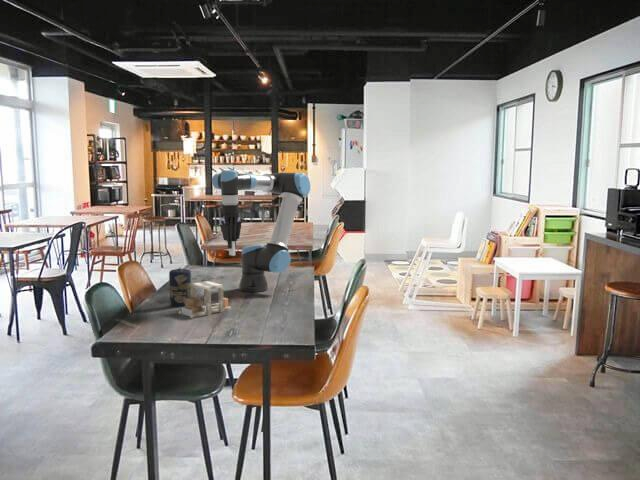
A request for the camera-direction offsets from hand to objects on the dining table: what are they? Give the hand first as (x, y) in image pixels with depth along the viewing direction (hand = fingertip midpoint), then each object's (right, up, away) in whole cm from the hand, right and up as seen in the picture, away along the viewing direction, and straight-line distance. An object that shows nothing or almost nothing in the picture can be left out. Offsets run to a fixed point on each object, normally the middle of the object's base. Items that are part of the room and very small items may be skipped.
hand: (232, 255), depth 263 cm
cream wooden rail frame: (-7, -25, -13) cm, 29 cm away
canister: (-23, -24, -2) cm, 33 cm away
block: (-13, -23, -20) cm, 34 cm away
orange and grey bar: (-9, -24, -15) cm, 30 cm away
